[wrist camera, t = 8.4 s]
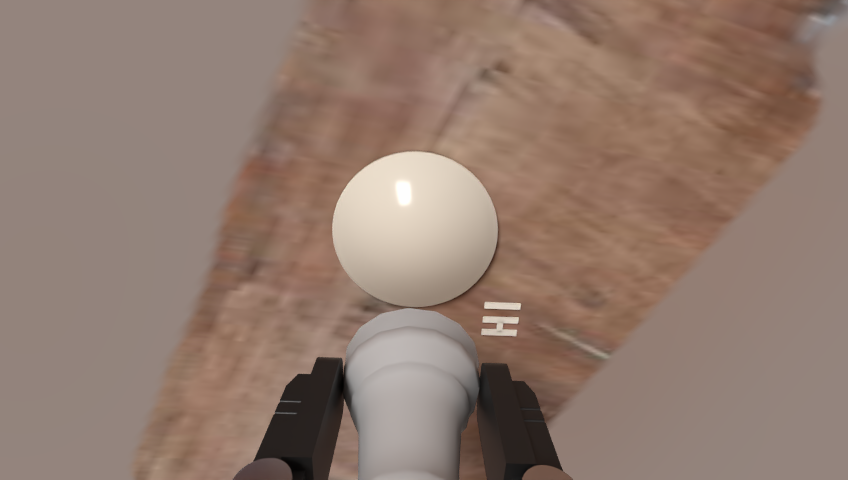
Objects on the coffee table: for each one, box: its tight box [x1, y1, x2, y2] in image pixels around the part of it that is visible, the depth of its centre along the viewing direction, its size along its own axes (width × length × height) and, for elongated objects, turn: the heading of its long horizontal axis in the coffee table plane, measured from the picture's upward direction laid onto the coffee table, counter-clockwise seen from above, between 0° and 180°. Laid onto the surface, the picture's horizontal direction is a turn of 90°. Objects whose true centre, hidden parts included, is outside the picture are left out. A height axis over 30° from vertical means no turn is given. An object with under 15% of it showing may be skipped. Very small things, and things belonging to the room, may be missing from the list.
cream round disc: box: [332, 151, 498, 307], centre depth 25 cm, size 10×10×1 cm
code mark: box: [481, 302, 521, 336], centre depth 28 cm, size 2×2×1 cm
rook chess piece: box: [342, 308, 480, 480], centre depth 10 cm, size 4×4×8 cm
